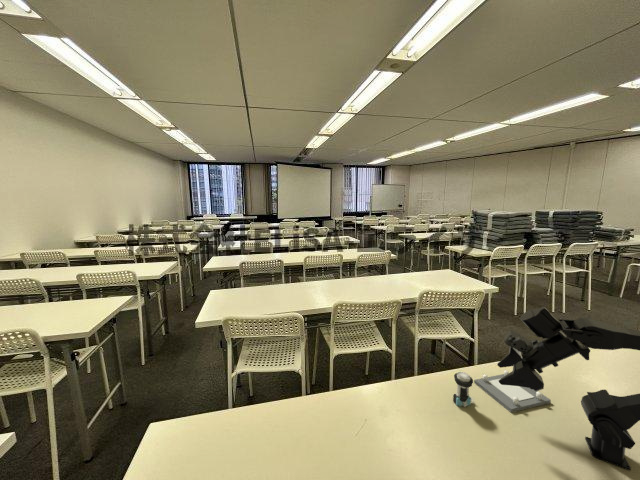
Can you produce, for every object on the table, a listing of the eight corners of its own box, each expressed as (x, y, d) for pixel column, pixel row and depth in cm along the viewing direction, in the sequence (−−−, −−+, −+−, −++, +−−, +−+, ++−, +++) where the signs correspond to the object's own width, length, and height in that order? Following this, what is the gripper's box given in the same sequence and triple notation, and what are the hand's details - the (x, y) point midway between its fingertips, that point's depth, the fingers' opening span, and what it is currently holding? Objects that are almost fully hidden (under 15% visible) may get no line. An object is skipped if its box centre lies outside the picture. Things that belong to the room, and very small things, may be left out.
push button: (468, 396, 85) (469, 369, 84) (479, 408, 80) (481, 379, 79) (449, 398, 85) (450, 370, 84) (459, 410, 80) (461, 381, 78)
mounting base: (550, 403, 82) (551, 394, 82) (510, 412, 78) (511, 403, 78) (509, 375, 96) (510, 367, 95) (474, 382, 92) (474, 374, 92)
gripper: (522, 313, 79) (478, 337, 86) (530, 339, 64) (476, 366, 71) (553, 344, 76) (505, 366, 83) (570, 379, 60) (509, 403, 67)
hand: (498, 373), depth 76 cm, fingers open, 9 cm apart
